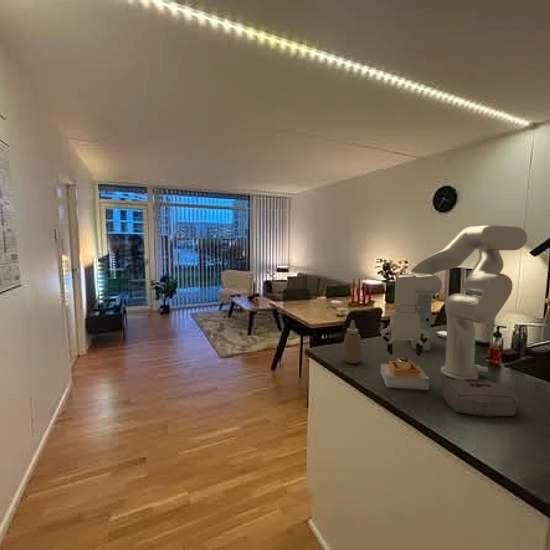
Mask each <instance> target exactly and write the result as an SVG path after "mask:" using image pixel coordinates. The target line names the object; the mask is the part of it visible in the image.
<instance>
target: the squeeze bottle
mask: <svg viewBox="0 0 550 550" xmlns="http://www.w3.org/2000/svg"><path fill="white" fill-rule="evenodd" d="M361 339H362V338H361V335H360V334H359V329H358V328H356V324H355V320H351V321H350V325H349V327H348V328H347V329H346V333H345V334H344V339H343V347H342V355H343V357H344V360H345V362H347V363H349V364H358V363H359V362H360V360H361V357H362V355H363V352H362V351H363V350H362V341H361Z"/></svg>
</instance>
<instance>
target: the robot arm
mask: <svg viewBox="0 0 550 550" xmlns="http://www.w3.org/2000/svg"><path fill="white" fill-rule="evenodd" d="M527 241H528V235H527V232H526V231H525V229H523V228H521V227H520V226H510V225H509V226H508V225H494V224H484V225H471V226H466V227H464V228H462V229H461V230H460V231H459V232H457V234H456V235H455V236H454V237H453V238H452V239H451V240H449V242H448V243H447V244H446V245H445V246H444V247H442V248H441V249H440V250H439V251H437V252H435V253H433V254H431V255H429V256H427V257H426V258H424V259H422V260H420V261H418V263H416V264H415V265H414V266H413V267H412V268H411V269H410V270H409V271H408V272H407V274H404V273H403V274H397V275H396V276H395V280H394V281H395V282H394V309H393V310H392V311H391V314H390V320H389V326H388V327H386V328H384V329H381V330H380V331H379V333H380V335H381V336H382V337H381V338H382V339H383V340H384V341H385V342H386V344H387V346H386V347H387V349H386V351H387V352H388V353H389V355H390V356H392V355H393V349H394V347H393V342H394V341H395V340H397V341H409V340H416V341H417V344H416V350H415V354H416V355H417V357H421V354H422V353H423V350H422V345H423V344H424V343H425V342H426V341H427V340H428V338H429V336H430V337H431V332H430V333H429V332H427V331H425V330H423V329H421V328H420V318H419V313H418V312H417V310H419V309H421V306H419V305H418V304H417V295H418V294H425V295H432V296H433V295H436V294H437V293H440V291H441V290H442V288H443V282H442V280H441V278H440V277H438V276H437V275H436V273H439V272H444V271H448V270H452V269H455V268H457V267H460V266H461V265H462V264H463V263H464V262H465V261H466V260H467V259H468V258H469V257H470V256H471V255H472V254H473V253H475V251H476V250H478V254H479V255H478V256H479V257H478V260H477V262H476V264H475V265H474V267H473V268H472V270H471V271H470V272H469V274H468V275H467V277H466V278H465V280H464V282H463V286H462V287H463V290H464V291H465V292H466V293H467V294H466V293H460V292H459V293H453V294H451V295H449V296H448V297H447V298H446V299H445V302H444V310H445V315H446V339H445V341H446V345H445V361H444V362H445V365H443V366H441V367H440V373H441V374H443V375H444V376H446V377H448V378H452V379H469V378H470V379H478V378H479V372H482V373H488V372H489V367H488V366H481V364H476V363H475V354H476V352H475V350H476V349H475V348H476V336H477V335H476V327H475V324H474V323H476V324H481V325H486V324H490V323H491V322H492V321H494V320H495V318H496V317H497V316H498V315H499V313H500V311H501V310H502V308H503V307H504V305H505V304H506V302H507V301H508V300H509V297H510V296H511V294H512V291H513V282H512V279H511V277H510V276H509V275H506V274H504V273H501V272H502V271H503V268H504V260H503V257H502V254H501V252H500V251H517V250H521V249H522V248H523V247H524V246H525V245H526V243H527ZM387 333H389V336H388V337H387V335H386V334H387ZM421 333H423V334H425V335H424V337H423V338H422V339H420V336H421Z"/></svg>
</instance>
